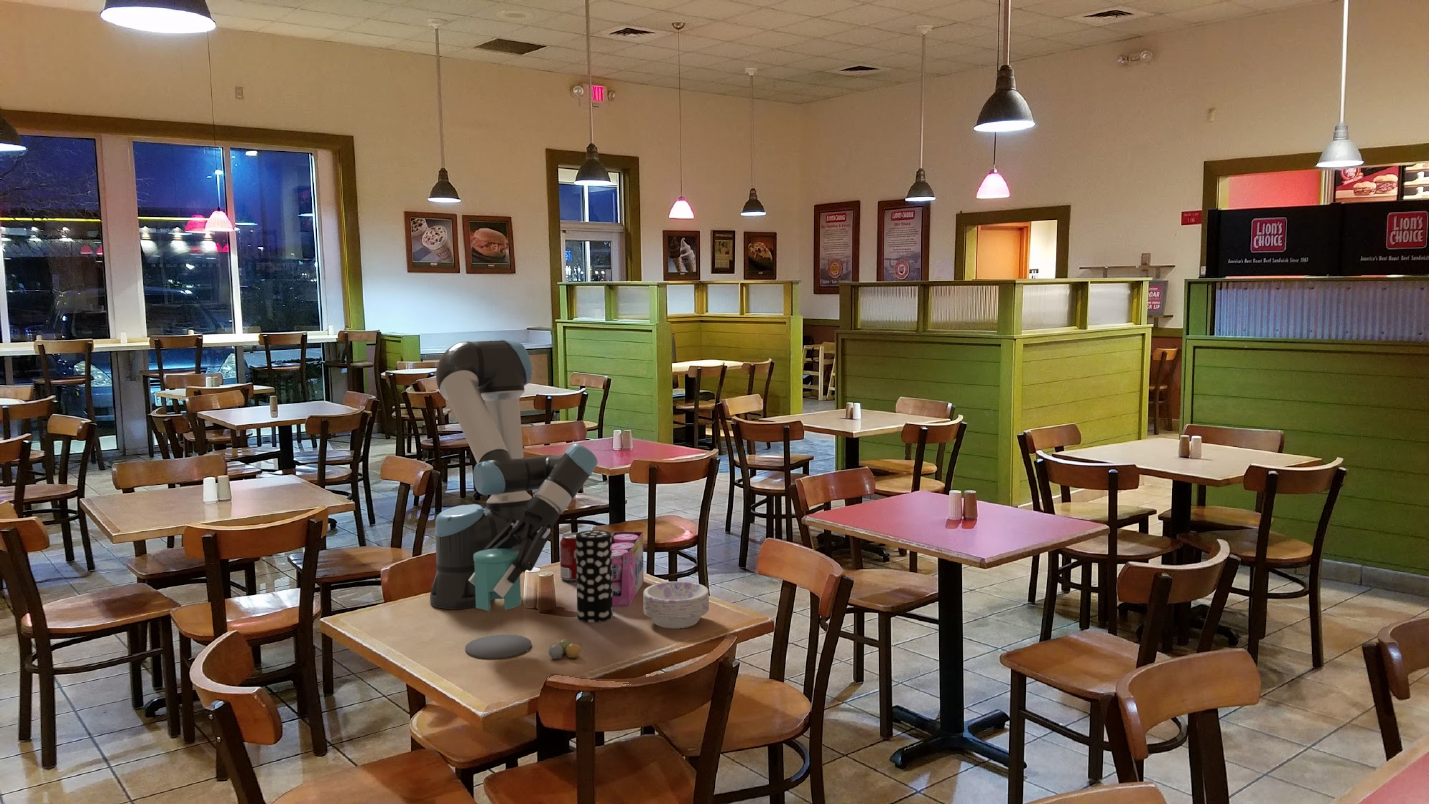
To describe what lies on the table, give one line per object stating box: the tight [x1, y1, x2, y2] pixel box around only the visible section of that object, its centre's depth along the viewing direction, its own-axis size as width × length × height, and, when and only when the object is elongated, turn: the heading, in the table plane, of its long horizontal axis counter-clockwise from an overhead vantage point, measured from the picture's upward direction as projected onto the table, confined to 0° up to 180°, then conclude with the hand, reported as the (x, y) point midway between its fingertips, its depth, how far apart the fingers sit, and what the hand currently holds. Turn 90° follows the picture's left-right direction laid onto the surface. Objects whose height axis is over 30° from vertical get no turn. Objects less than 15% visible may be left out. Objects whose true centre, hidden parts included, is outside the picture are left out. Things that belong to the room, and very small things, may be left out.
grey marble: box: [548, 643, 564, 660], centre depth 215 cm, size 3×3×3 cm
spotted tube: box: [576, 529, 614, 623], centre depth 243 cm, size 8×8×20 cm
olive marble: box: [557, 639, 572, 655], centre depth 219 cm, size 3×3×3 cm
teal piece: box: [474, 548, 522, 612], centre depth 220 cm, size 10×10×11 cm
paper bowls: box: [642, 581, 710, 630], centre depth 239 cm, size 15×15×8 cm
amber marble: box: [565, 643, 581, 659], centre depth 216 cm, size 3×3×3 cm
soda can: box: [559, 532, 578, 582], centre depth 276 cm, size 7×7×12 cm
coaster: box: [464, 633, 532, 660], centre depth 222 cm, size 14×14×1 cm
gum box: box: [611, 531, 645, 607], centre depth 262 cm, size 24×8×14 cm, turn 175°
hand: (485, 588), depth 219 cm, fingers closed on teal piece, 10 cm apart
